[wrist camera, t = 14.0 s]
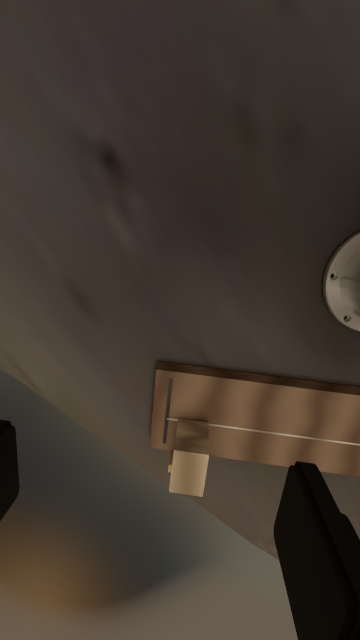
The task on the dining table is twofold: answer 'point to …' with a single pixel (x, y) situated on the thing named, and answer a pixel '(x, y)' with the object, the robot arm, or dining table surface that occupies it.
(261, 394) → the walnut board
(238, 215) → the dining table surface
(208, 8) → the dining table surface
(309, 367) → the dining table surface
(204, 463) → the tan cardboard box
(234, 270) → the dining table surface
